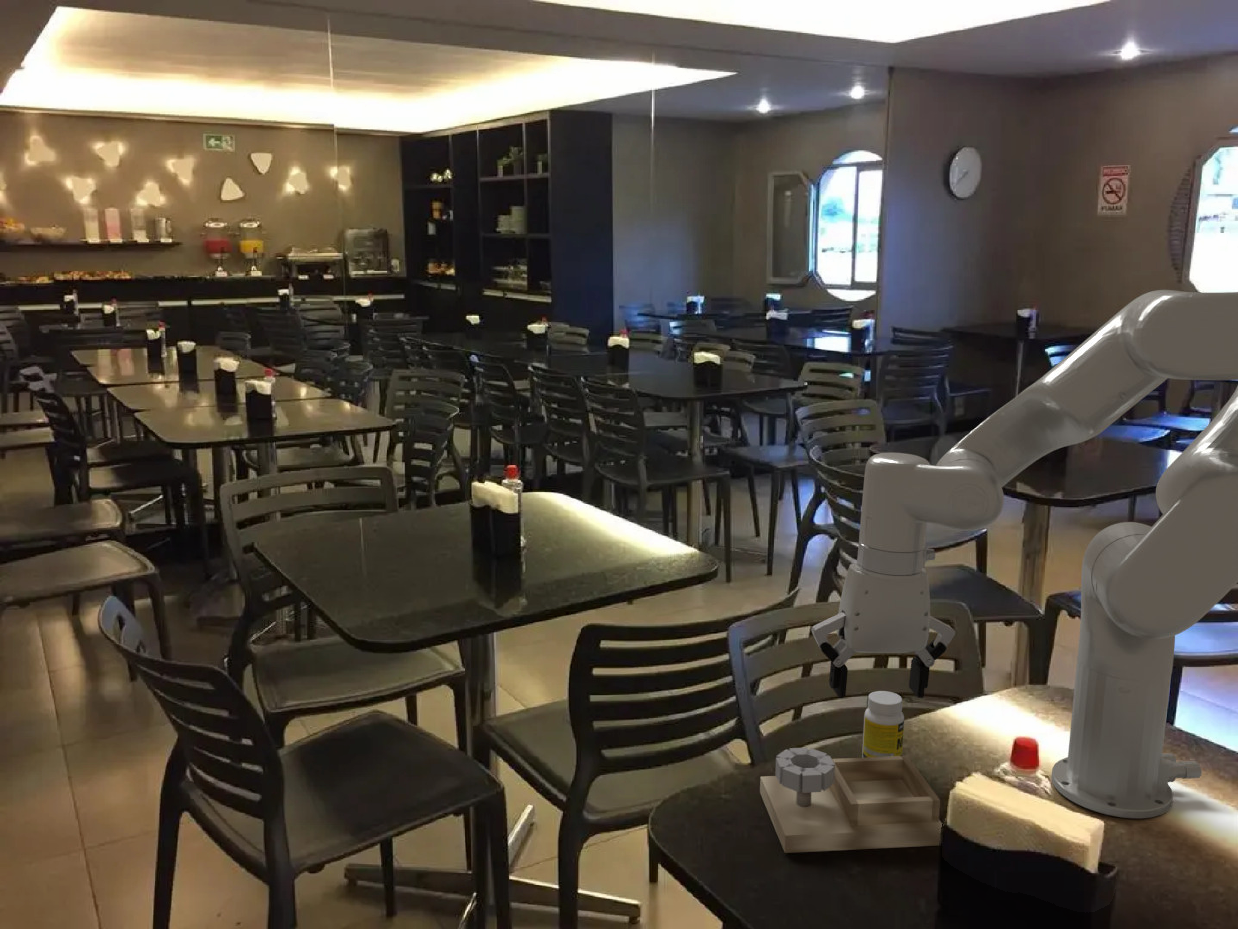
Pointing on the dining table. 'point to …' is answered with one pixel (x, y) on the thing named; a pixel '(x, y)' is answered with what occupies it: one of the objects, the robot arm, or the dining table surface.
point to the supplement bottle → (883, 725)
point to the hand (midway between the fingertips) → (877, 693)
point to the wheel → (805, 770)
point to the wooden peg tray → (857, 808)
